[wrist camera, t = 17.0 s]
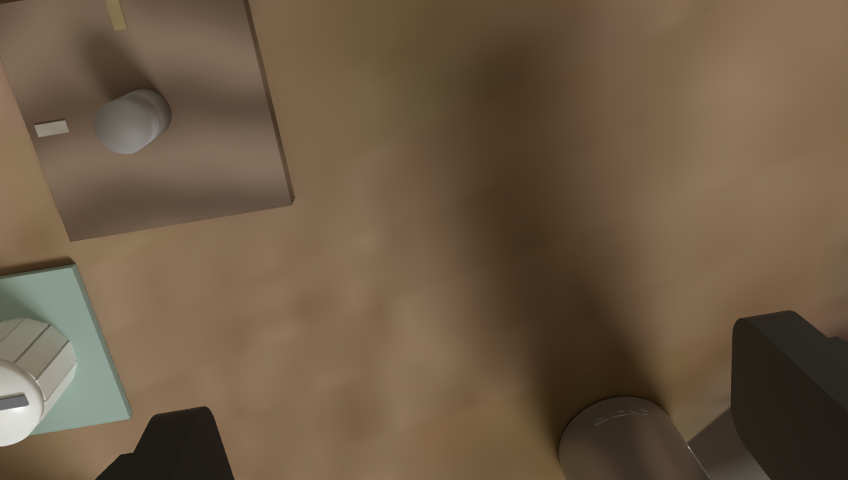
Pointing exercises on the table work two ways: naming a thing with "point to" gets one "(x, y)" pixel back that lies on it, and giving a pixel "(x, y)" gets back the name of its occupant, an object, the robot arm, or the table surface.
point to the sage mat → (73, 317)
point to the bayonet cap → (31, 375)
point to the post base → (185, 73)
